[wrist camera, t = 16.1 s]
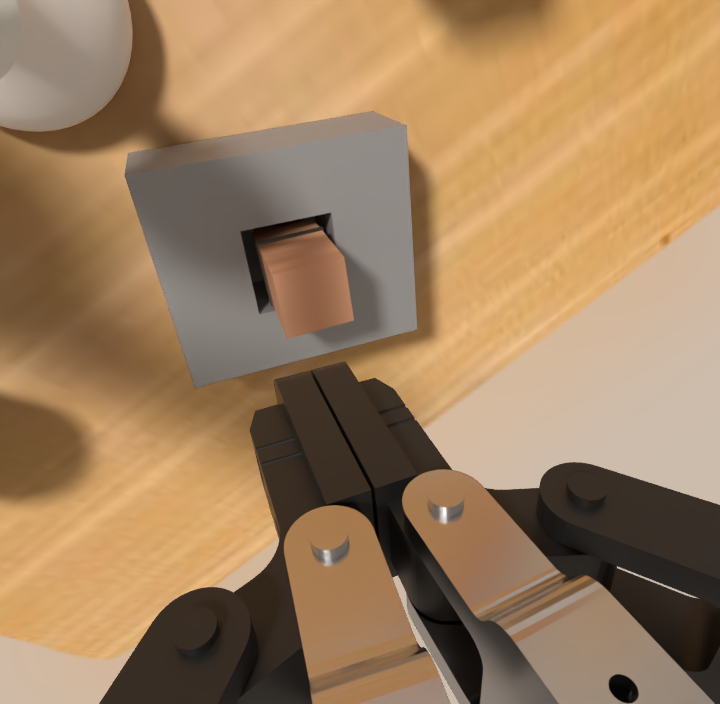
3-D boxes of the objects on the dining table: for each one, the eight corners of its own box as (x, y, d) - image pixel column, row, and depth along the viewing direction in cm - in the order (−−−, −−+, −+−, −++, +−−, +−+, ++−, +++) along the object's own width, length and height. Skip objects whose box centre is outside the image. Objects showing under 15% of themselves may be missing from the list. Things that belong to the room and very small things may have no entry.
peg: (257, 274, 39) (286, 341, 31) (243, 217, 37) (269, 273, 29) (313, 260, 40) (356, 321, 32) (303, 204, 38) (345, 254, 30)
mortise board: (189, 344, 41) (195, 388, 36) (128, 153, 34) (124, 175, 29) (387, 295, 45) (417, 329, 40) (372, 111, 37) (406, 125, 32)
